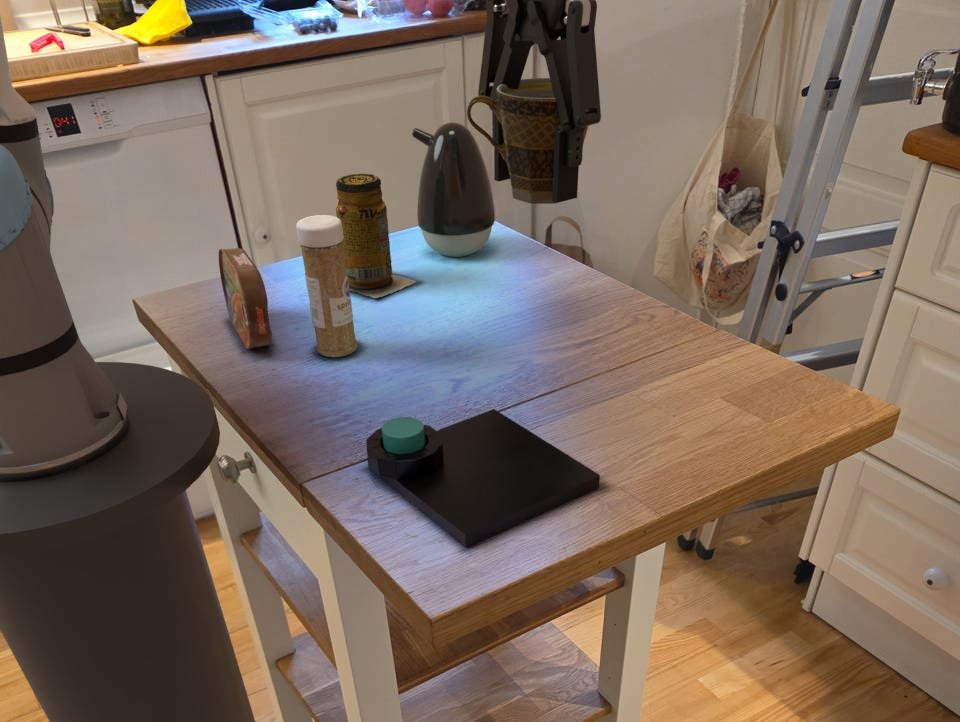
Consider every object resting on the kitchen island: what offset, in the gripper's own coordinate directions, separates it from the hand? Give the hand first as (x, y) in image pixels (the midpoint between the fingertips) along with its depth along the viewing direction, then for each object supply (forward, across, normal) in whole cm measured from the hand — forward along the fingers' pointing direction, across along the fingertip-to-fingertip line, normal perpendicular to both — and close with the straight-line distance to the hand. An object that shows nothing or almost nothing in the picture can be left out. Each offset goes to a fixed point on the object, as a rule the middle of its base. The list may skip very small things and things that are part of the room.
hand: (534, 188), depth 94 cm
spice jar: (+14, +6, +23) cm, 27 cm away
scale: (+13, -25, +26) cm, 39 cm away
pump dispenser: (+13, +22, -5) cm, 27 cm away
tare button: (+11, -20, +31) cm, 38 cm away
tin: (+14, +16, +28) cm, 35 cm away
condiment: (+14, +20, +10) cm, 26 cm away
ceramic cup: (+1, +1, 0) cm, 1 cm away
